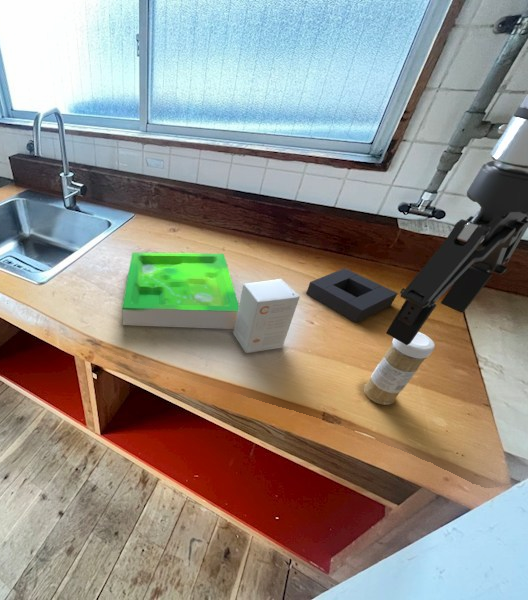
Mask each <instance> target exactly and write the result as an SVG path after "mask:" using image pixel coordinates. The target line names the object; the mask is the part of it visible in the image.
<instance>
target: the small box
mask: <svg viewBox="0 0 528 600" xmlns="http://www.w3.org/2000/svg"><path fill="white" fill-rule="evenodd" d="M299 300H300V295H299V294H298V293H297V292H296V291H295V290H294V289H293V288H292V287H291V286H290V285H289V284H287V282H285V281H284V280H283V279H282V278H276V279H270V280H262V281H254V282H253V281H252V282H246V283H243V284H242V289H241V294H240V299H239V302H238V305H239V308H238V313H237V317H236V323H235V328H234V329H233V335H234V337H235V338H236V340H237V341H238V343H239V345H240V346H241V348H242V349H243V351H244V352H245V354H251V353H257V352H264V351H269V350H276V349H281V348H283V347H284V344H285V341H286V338H287V335H288V332H289V330H290V326H291V324H292V320H293V318H294V315H295V313H296V309H297V306H298V303H299Z"/></svg>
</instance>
